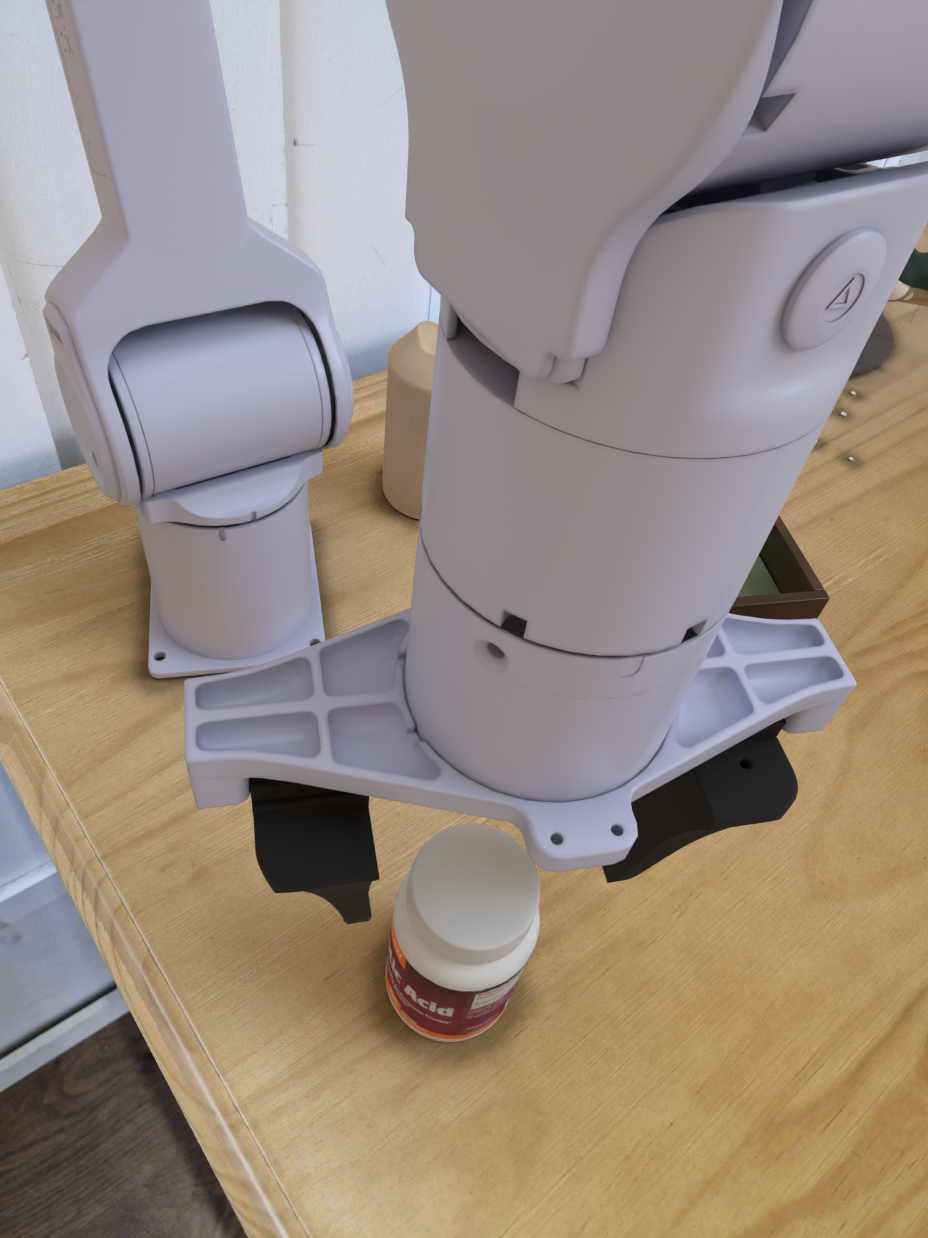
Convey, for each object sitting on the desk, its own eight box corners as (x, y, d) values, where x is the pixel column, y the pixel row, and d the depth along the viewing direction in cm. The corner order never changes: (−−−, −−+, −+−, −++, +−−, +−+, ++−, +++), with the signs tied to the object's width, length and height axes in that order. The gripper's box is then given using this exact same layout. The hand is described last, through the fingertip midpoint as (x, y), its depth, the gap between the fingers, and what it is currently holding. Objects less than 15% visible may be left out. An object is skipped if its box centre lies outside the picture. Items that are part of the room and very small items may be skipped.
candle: (362, 492, 50) (366, 334, 42) (419, 446, 53) (432, 291, 45) (442, 537, 48) (461, 380, 40) (495, 486, 51) (523, 332, 44)
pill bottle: (358, 966, 33) (363, 867, 26) (457, 891, 35) (483, 784, 29) (438, 1076, 31) (465, 998, 24) (538, 989, 33) (585, 896, 27)
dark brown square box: (623, 542, 49) (637, 502, 47) (748, 533, 51) (767, 494, 49) (670, 649, 45) (688, 610, 42) (806, 636, 46) (830, 598, 44)
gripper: (140, 781, 11) (233, 1064, 22) (1067, 671, 14) (765, 964, 25) (150, 439, 16) (224, 808, 26) (860, 410, 19) (676, 750, 29)
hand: (484, 869), depth 26 cm, fingers open, 7 cm apart
